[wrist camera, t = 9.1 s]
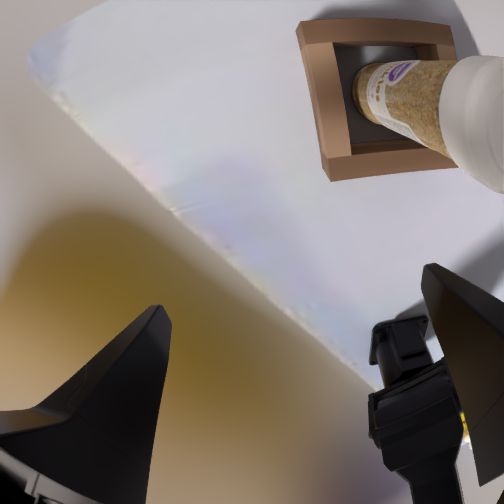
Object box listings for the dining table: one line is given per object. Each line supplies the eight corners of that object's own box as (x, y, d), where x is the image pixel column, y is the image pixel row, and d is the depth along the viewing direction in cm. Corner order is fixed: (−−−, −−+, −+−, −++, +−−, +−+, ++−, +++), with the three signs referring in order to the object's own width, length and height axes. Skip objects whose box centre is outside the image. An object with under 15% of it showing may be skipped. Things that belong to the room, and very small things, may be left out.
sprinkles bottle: (367, 51, 15) (500, 26, 4) (419, 87, 16) (567, 124, 4) (338, 103, 17) (445, 144, 6) (391, 137, 18) (519, 222, 7)
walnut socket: (443, 155, 18) (463, 167, 16) (322, 168, 20) (330, 181, 17) (428, 30, 13) (449, 25, 11) (295, 30, 15) (300, 21, 12)
